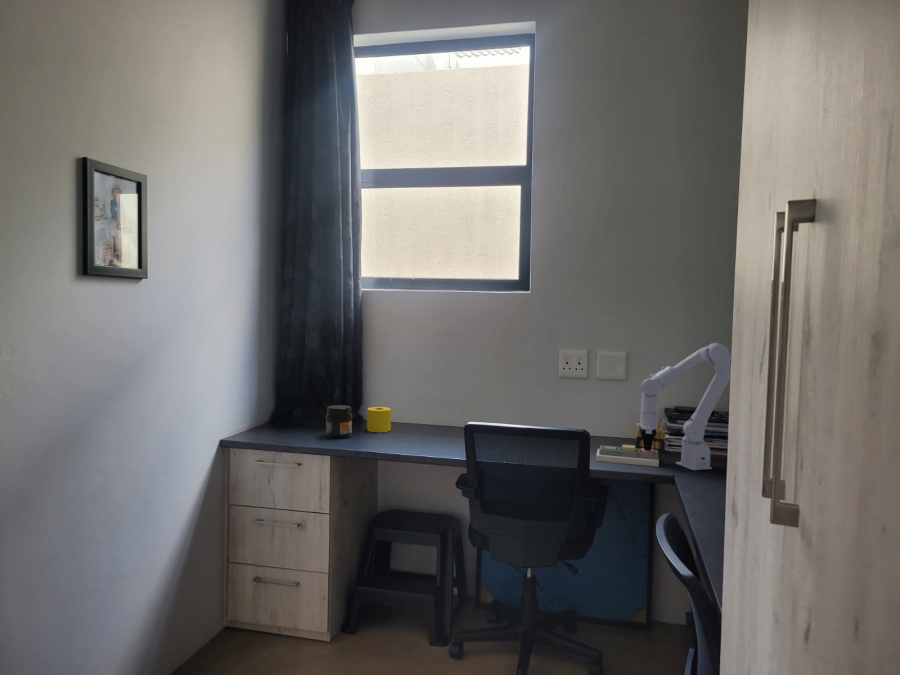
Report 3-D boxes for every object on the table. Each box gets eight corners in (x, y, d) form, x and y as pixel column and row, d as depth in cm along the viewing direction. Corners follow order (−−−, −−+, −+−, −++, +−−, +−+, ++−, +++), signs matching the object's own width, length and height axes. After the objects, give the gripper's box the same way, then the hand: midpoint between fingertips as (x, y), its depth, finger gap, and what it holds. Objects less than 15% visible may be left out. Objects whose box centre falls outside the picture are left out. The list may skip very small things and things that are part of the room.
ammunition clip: (635, 449, 239) (636, 418, 238) (636, 448, 240) (637, 418, 240) (664, 452, 234) (665, 421, 234) (665, 451, 236) (666, 420, 235)
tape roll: (392, 432, 258) (392, 410, 258) (368, 433, 256) (368, 411, 256) (388, 428, 268) (389, 406, 268) (366, 428, 266) (366, 407, 265)
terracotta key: (653, 454, 220) (653, 449, 220) (654, 456, 216) (654, 451, 216) (640, 453, 221) (640, 448, 221) (640, 455, 217) (641, 450, 217)
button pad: (657, 459, 223) (657, 449, 223) (658, 466, 212) (659, 455, 212) (597, 454, 229) (597, 444, 229) (595, 461, 218) (596, 450, 218)
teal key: (616, 451, 224) (616, 446, 224) (615, 454, 219) (616, 449, 219) (603, 450, 225) (603, 445, 225) (603, 453, 221) (603, 448, 221)
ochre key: (634, 450, 222) (634, 445, 222) (634, 453, 218) (635, 448, 217) (622, 449, 223) (622, 444, 223) (622, 452, 219) (622, 447, 219)
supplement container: (356, 436, 249) (357, 407, 248) (334, 440, 242) (334, 410, 241) (342, 432, 257) (343, 404, 256) (320, 435, 250) (321, 406, 249)
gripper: (637, 408, 226) (635, 444, 226) (637, 414, 212) (635, 453, 213) (657, 409, 224) (655, 446, 224) (658, 416, 210) (657, 455, 211)
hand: (647, 450), depth 218 cm, fingers closed, pressing on terracotta key
